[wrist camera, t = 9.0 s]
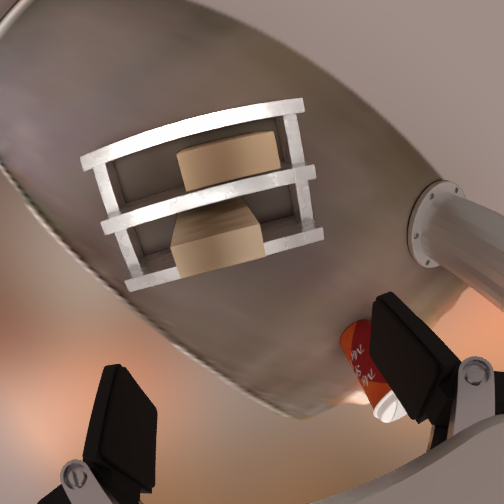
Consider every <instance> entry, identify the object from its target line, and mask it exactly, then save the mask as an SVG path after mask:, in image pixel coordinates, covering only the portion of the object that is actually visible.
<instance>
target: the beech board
mask: <svg viewBox="0 0 504 504" xmlns="http://www.w3.org/2000/svg"><path fill="white" fill-rule="evenodd" d="M170 248H171V251H172V254H173V257H174V260H175V263H176V266H177V269H178V272H179V274H180V277H181V278H185V277H189V276H193V275H197V274H201V273H205V272H208V271H212V270H216V269H220V268H224V267H228V266H232V265H235V264H239V263H243V262H247V261H251V260H255V259H258V258H262V257H266V254H265V248H264V243H263V238H262V233H261V228H260V224H259V222H258V221H257V219H256V218H255V216H254V215H253V213H252V212H251V211H250V209H249V208H248V206H247V205H246V203H245V202H244V200H243V199H242V198H241V196H238V197H234V198H230V199H226V200H222V201H218V202H214V203H211V204H207V205H203V206H200V207H196V208H192V209H189V210H185V211H182V212H178V215H177V219H176V223H175V227H174V232H173V236H172V241H171V245H170Z"/></svg>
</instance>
